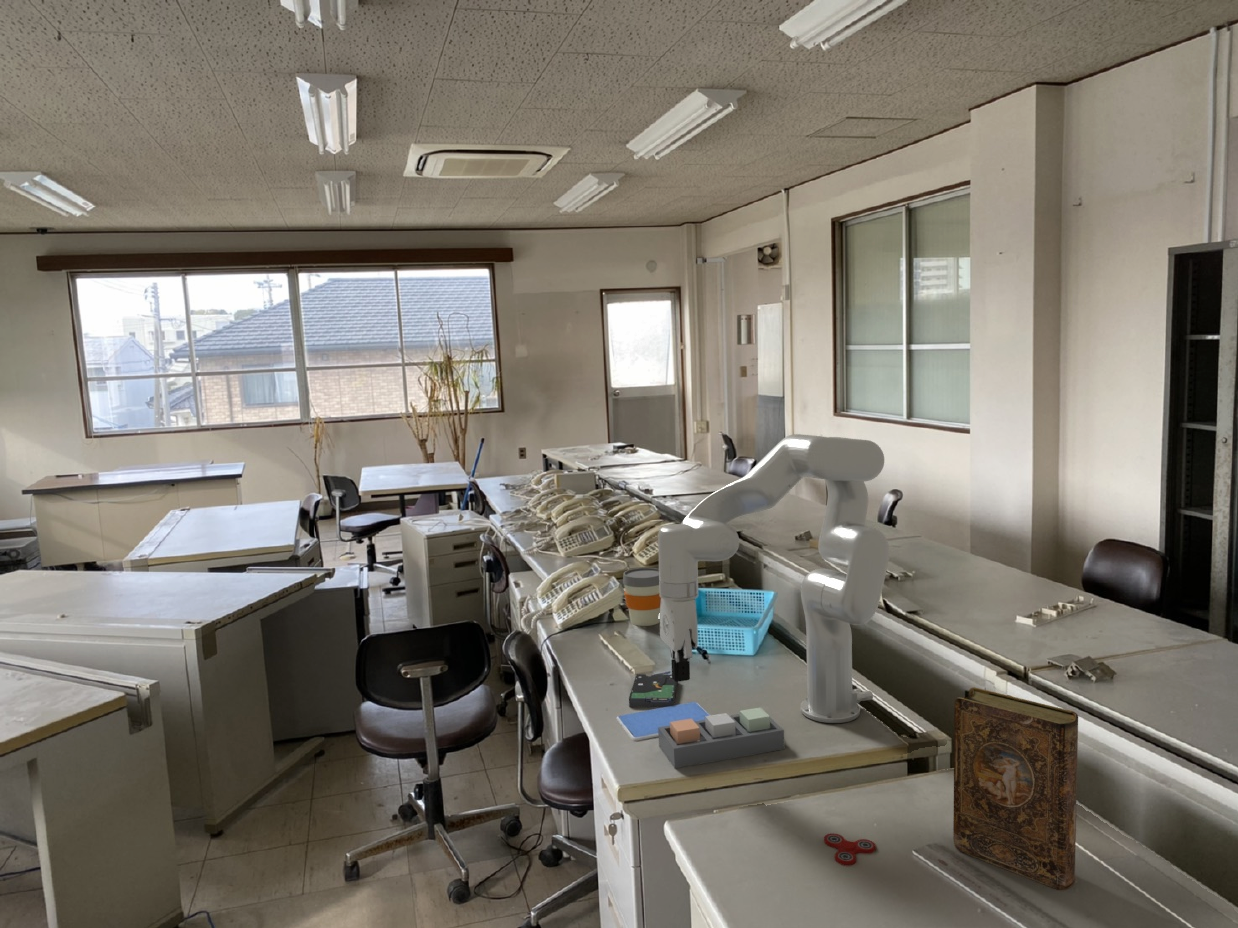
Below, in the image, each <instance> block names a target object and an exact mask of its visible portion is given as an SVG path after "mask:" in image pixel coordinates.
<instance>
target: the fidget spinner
mask: <svg viewBox="0 0 1238 928" xmlns="http://www.w3.org/2000/svg"><path fill="white" fill-rule="evenodd" d="M823 842H824V844H825V845H826V846H828V847H831V848H834V849H836V850H838V851H837V852H836V853H835V854H834V860H835V862H837V864H839V865H843V866H852V865H855V864H856V862H857V854H873V853H875V852H876V850H877V848H876V847H877V846H876V843H875V842H874V841H872V840H870V839H865V838H862V839H857V840H855V841H850V840H847V839H846V838H844V837H843V835H841V834H838V833H827V834H826V835H824V837H823Z"/></svg>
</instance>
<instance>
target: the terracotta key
mask: <svg viewBox="0 0 1238 928" xmlns="http://www.w3.org/2000/svg"><path fill="white" fill-rule="evenodd" d="M670 734H671V735H672V737H673V738H674V739H675V741H676V742H677V743H678V744H679V743H685V742H691V741H697V740H700V728H699V727H698V725H697V724H696V723H695V722H694V721H693V720H692V719H686V720H679V721H673V722H670Z"/></svg>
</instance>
